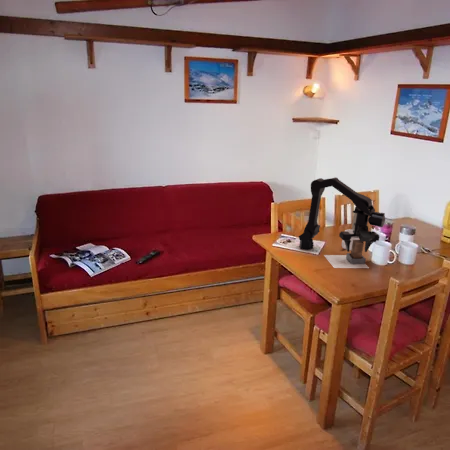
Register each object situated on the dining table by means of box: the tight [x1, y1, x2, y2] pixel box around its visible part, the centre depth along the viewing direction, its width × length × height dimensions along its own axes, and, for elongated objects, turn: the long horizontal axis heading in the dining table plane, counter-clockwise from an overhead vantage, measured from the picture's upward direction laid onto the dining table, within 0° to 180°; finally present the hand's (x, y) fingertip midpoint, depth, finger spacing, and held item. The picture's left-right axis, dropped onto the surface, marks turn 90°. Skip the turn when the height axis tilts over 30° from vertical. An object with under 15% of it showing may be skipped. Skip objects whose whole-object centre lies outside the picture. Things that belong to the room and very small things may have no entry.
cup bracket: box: [345, 252, 367, 264], centre depth 206 cm, size 7×7×3 cm
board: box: [323, 254, 370, 269], centre depth 206 cm, size 18×16×1 cm
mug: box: [341, 229, 360, 251], centre depth 222 cm, size 12×8×10 cm
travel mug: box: [351, 206, 357, 230], centre depth 253 cm, size 8×8×18 cm
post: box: [350, 239, 365, 258], centre depth 205 cm, size 4×4×11 cm
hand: (356, 251), depth 205 cm, fingers open, 9 cm apart
